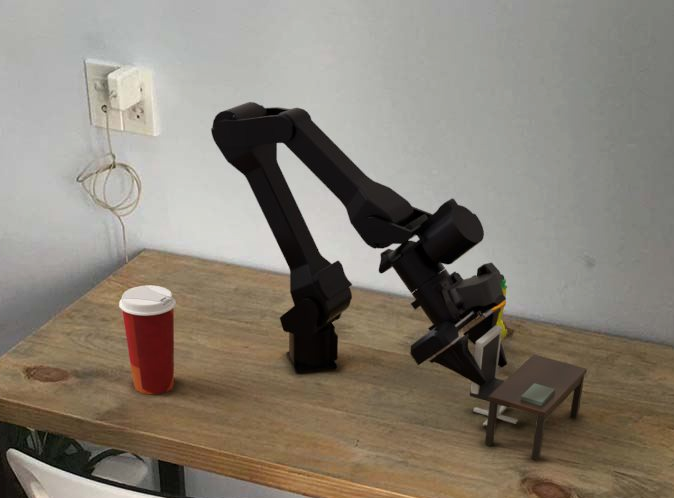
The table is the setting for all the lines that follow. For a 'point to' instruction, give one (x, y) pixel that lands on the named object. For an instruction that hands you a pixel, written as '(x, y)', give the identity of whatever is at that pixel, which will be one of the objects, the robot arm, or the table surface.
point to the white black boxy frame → (489, 371)
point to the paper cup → (150, 337)
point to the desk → (537, 393)
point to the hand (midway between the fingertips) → (494, 375)
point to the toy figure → (501, 305)
